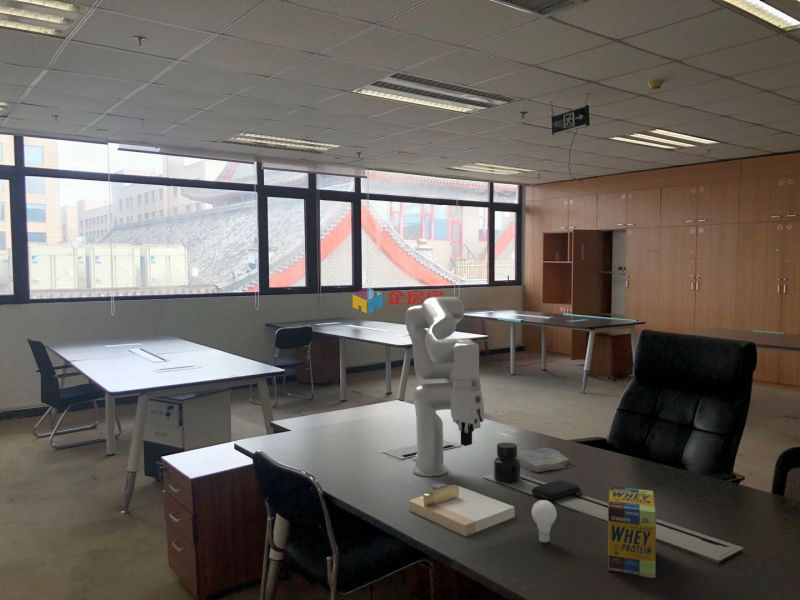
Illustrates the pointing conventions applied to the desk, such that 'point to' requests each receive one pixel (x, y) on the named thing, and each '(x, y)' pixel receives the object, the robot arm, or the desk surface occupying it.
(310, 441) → the desk surface
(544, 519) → the lightbulb
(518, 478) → the ink bottle
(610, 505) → the protein box
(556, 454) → the grey flat stone slab
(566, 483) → the carrying case or bag
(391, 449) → the desk surface
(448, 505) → the white cabinet door
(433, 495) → the gold bar
